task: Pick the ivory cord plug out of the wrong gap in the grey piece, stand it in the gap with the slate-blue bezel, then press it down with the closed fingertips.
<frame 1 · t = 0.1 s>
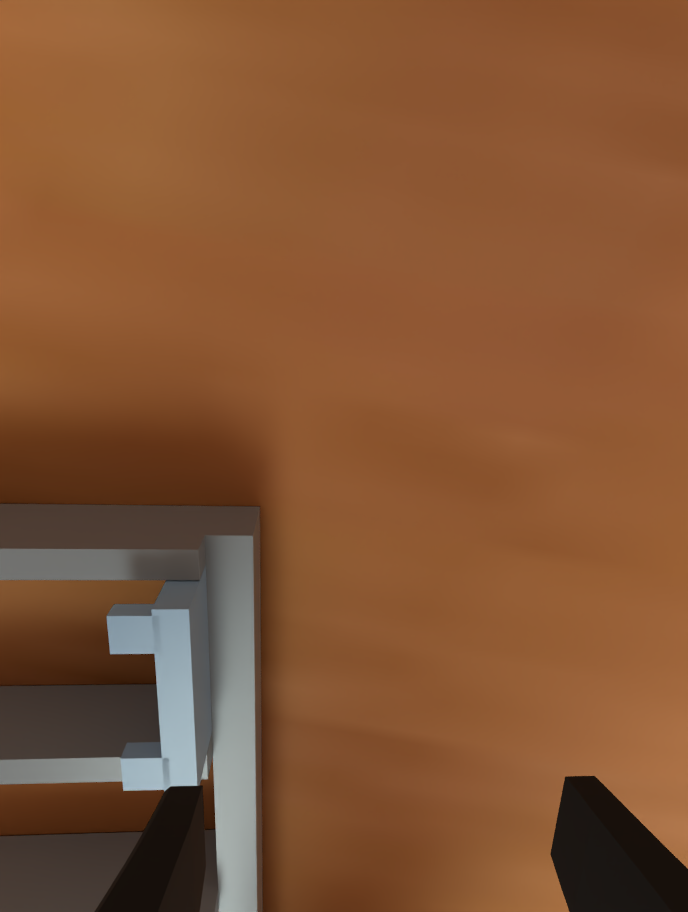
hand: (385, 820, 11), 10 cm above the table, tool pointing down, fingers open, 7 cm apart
grey piece: (76, 772, 22), on the table
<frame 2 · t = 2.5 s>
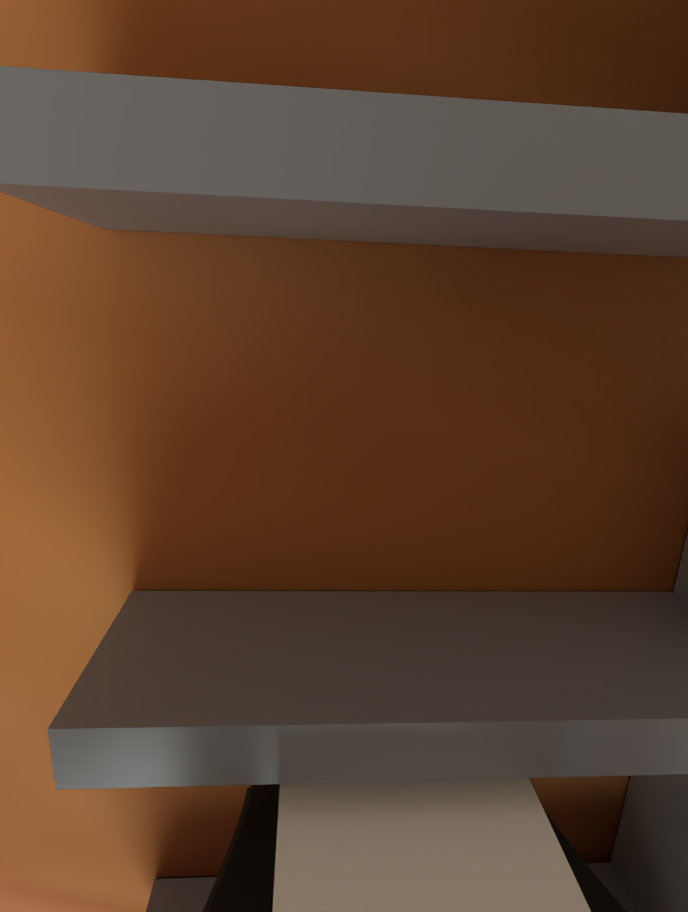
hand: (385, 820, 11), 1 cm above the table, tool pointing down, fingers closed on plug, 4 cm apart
grey piece: (399, 433, 10), on the table
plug: (376, 760, 12), resting in grey piece, touching gripper
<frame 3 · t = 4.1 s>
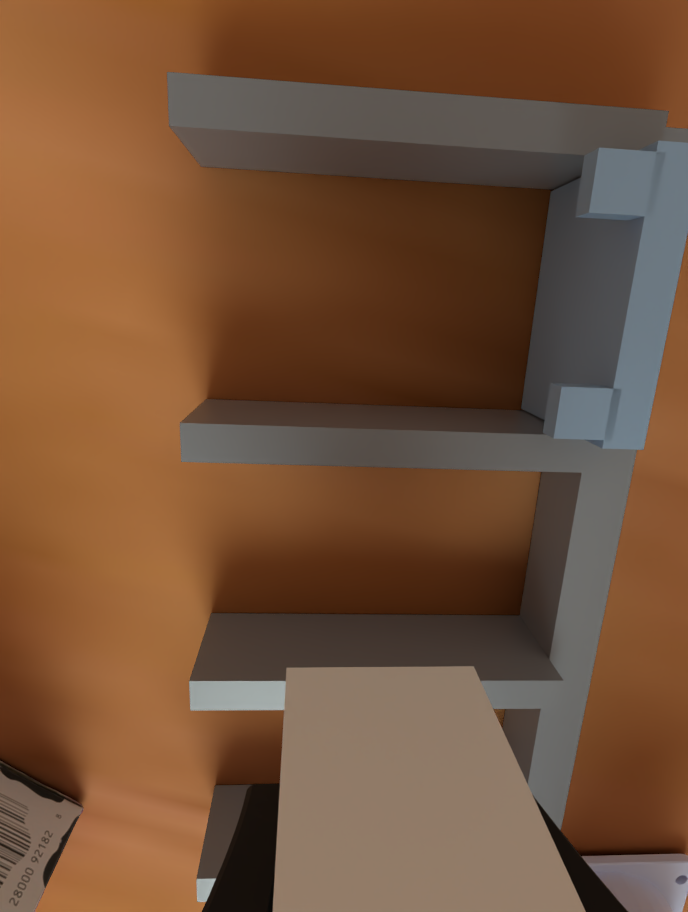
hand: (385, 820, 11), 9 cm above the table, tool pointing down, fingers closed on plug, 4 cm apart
grey piece: (359, 529, 18), on the table
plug: (374, 761, 12), point 7 cm above the table, touching gripper
when the fingers open (3 cm above the table, at t = 6.1 s): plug drops 1 cm, resting in grey piece.
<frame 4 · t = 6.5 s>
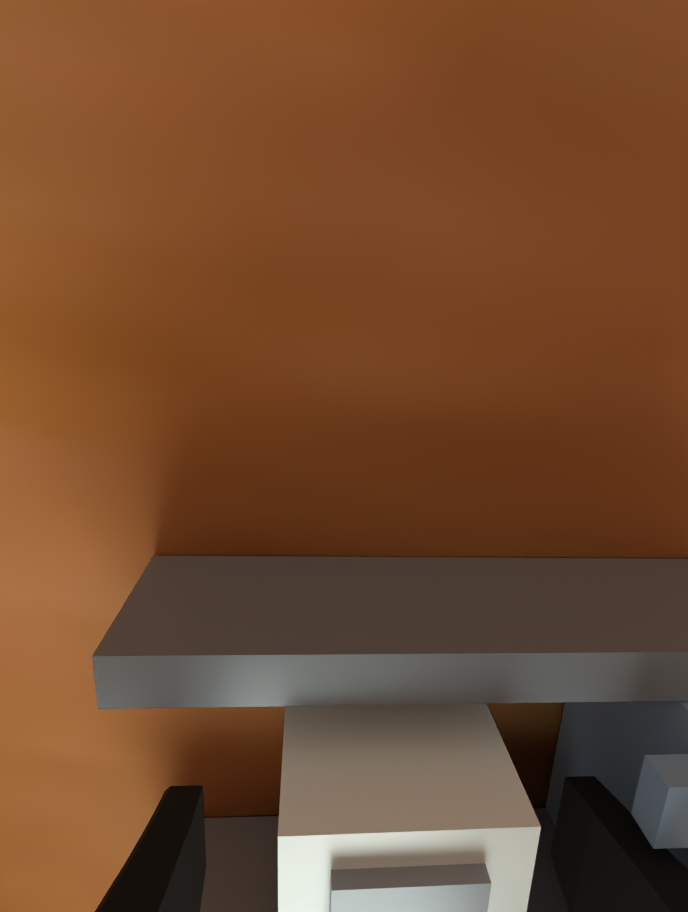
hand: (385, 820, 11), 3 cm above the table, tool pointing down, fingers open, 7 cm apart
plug: (368, 719, 14), resting in grey piece
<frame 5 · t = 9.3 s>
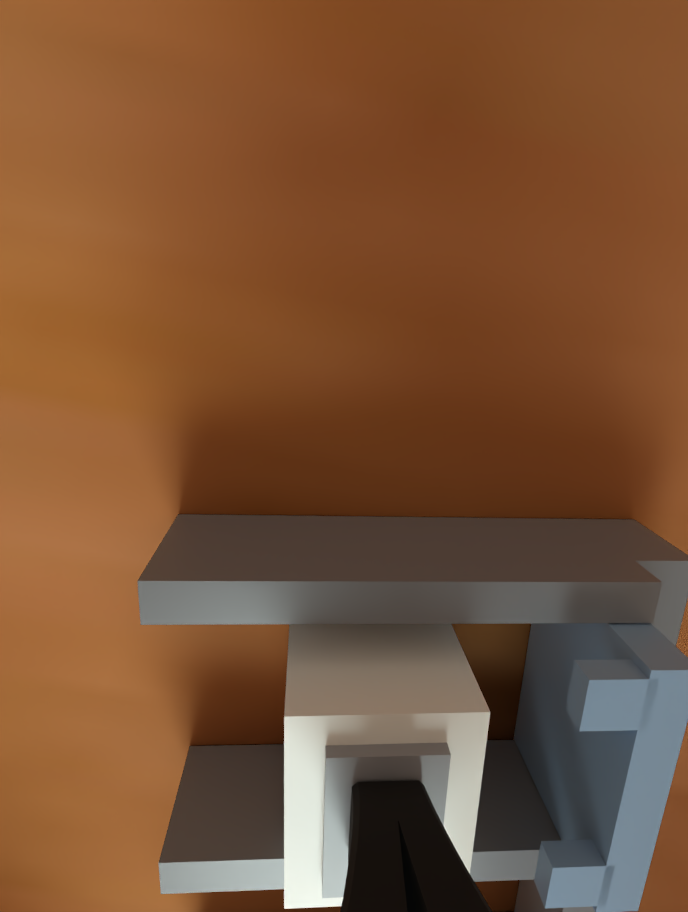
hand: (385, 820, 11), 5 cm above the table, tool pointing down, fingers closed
grey piece: (349, 847, 18), on the table
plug: (359, 659, 16), resting in grey piece
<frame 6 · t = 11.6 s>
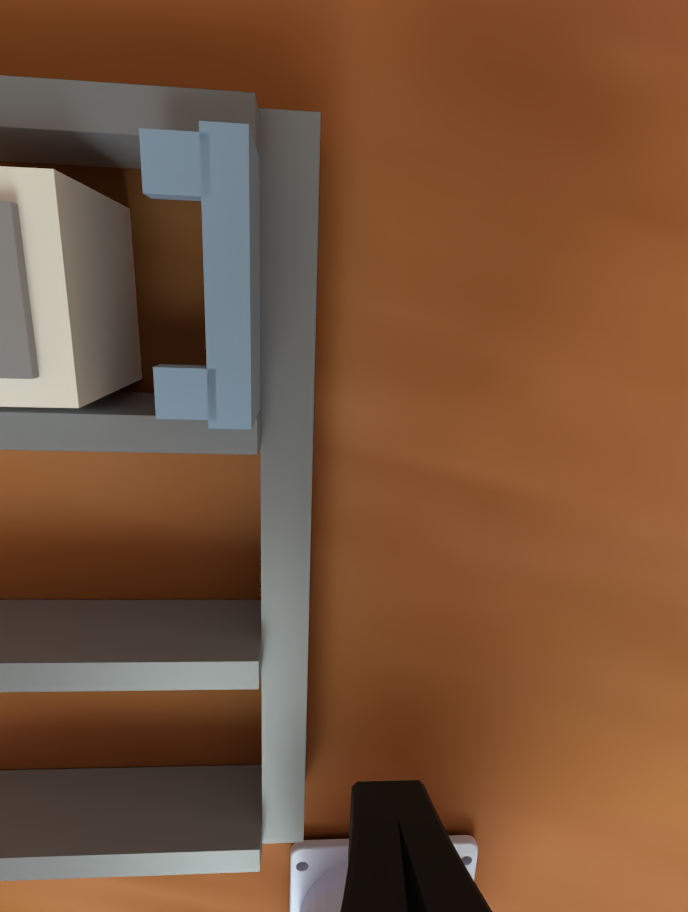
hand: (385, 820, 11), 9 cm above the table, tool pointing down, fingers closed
grey piece: (89, 514, 18), on the table
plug: (69, 295, 16), resting in grey piece
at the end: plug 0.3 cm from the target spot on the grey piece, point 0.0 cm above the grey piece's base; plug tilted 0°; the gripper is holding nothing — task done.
